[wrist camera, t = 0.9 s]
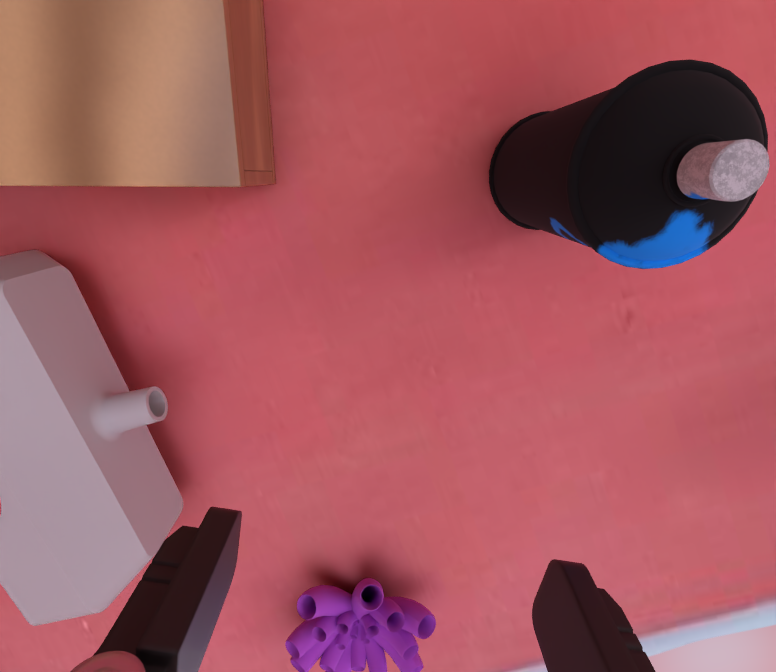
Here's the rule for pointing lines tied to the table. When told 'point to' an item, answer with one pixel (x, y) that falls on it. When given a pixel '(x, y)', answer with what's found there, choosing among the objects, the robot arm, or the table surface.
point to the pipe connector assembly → (358, 629)
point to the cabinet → (134, 93)
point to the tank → (71, 452)
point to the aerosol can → (639, 165)
